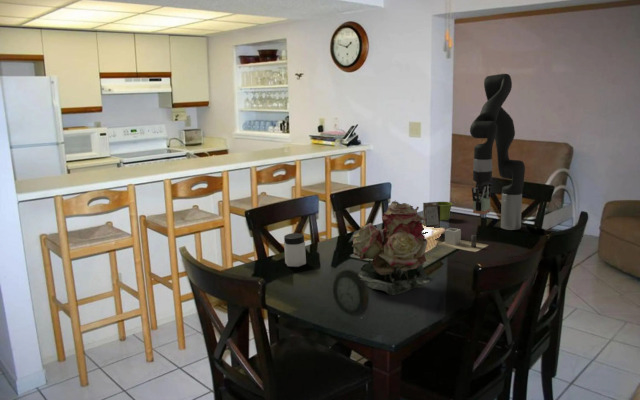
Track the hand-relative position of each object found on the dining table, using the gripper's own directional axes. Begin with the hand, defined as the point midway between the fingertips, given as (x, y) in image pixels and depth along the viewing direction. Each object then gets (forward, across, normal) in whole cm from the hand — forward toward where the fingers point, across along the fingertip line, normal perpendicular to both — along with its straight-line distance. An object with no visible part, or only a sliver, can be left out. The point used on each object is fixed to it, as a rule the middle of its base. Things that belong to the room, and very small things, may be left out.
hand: (481, 209), depth 220 cm
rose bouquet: (+19, +52, -8) cm, 55 cm away
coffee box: (+18, -4, -26) cm, 32 cm away
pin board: (+18, +1, -7) cm, 19 cm away
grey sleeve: (+17, +1, -12) cm, 21 cm away
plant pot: (+18, -36, -39) cm, 56 cm away
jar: (+19, +60, -52) cm, 81 cm away
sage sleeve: (+1, 0, 0) cm, 1 cm away
